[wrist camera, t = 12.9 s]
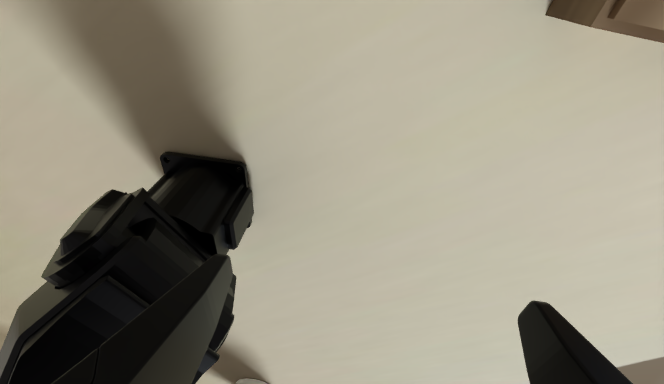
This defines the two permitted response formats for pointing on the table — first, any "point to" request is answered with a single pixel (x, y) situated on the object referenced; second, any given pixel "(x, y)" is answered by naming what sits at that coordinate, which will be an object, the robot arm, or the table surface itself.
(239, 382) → the foam cup
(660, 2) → the walnut box
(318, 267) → the table surface
